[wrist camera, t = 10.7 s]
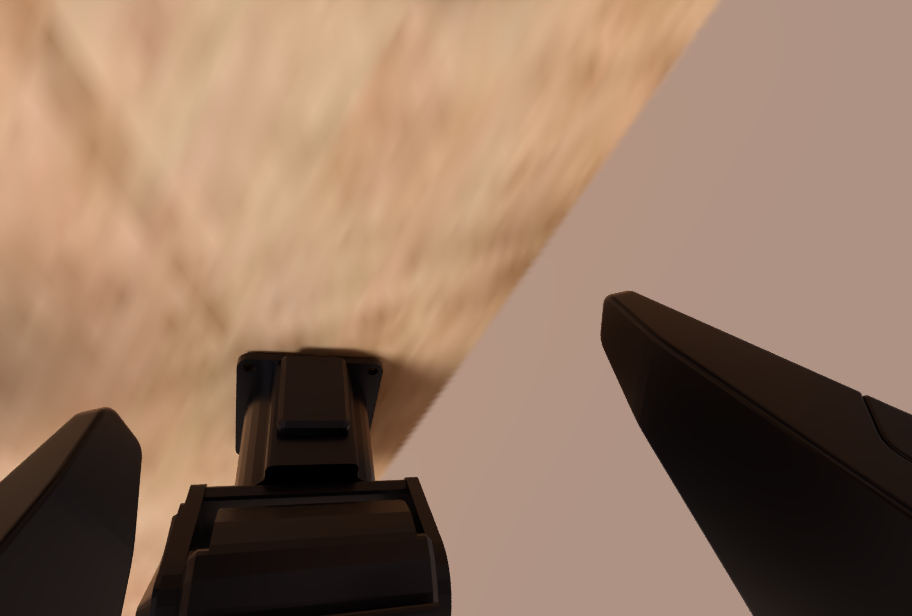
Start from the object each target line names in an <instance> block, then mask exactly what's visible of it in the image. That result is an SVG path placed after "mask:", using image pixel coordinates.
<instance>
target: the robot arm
mask: <svg viewBox="0 0 912 616" xmlns="http://www.w3.org/2000/svg"><path fill="white" fill-rule="evenodd" d="M601 342H602V346H603V348H604V351H605V353H606V355H607V357H608V360H609V361H610V364H611V366H612V368H613V370H614V373H615V375H616V377H617V379H618V381H619V384H620V386H621V388H622V390H623V393H624V395H625V397H626V399H627V401H628V404H629V406H630V408H631V410H632V412H633V414H634V416H635V418H636V421H637V423H638V425H639V426H640V428H641V430H642V432H643V433H644V435H645V437H646V439H647V440H648V442H649V444H650V445H651V447H652V449H653V450H654V452H655V454H656V455H657V457H658V459H659V460H660V462H661V464H662V465H663V467H664V469H665V470H666V472H667V474H668V475H669V477H670V479H671V480H672V482H673V484H674V485H675V487H676V489H677V490H678V492H679V493H680V495H681V497H682V499H683V500H684V502H685V503H686V505H687V507H688V508H689V510H690V512H691V514H692V515H693V517H694V518H695V520H696V521H697V523H698V525H699V527H700V528H701V530H702V532H703V533H704V535H705V537H706V538H707V540H708V542H709V543H710V545H711V547H712V548H713V550H714V552H715V553H716V555H717V557H718V558H719V560H720V562H721V563H722V565H723V567H724V568H725V570H726V572H727V573H728V575H729V577H730V578H731V580H732V581H733V583H734V585H735V587H736V588H737V590H738V592H739V593H740V595H741V597H742V598H743V600H744V602H745V603H746V605H747V607H748V608H749V610H750V612H751V613H752V615H753V616H912V415H911V414H909V413H907V412H904V411H902V410H900V409H897V408H895V407H893V406H890V405H888V404H886V403H884V402H882V401H879V400H877V399H875V398H872V397H870V396H868V395H866V396H862V394H861V393H860V392H858V391H856V390H854V389H852V388H850V387H847V386H845V385H843V384H841V383H838V382H836V381H834V380H832V379H829V378H827V377H825V376H823V375H820V374H818V373H816V372H814V371H811V370H809V369H807V368H804V367H802V366H800V365H798V364H796V363H793V362H791V361H789V360H787V359H784V358H782V357H780V356H778V355H775V354H773V353H771V352H769V351H766V350H764V349H761V348H760V347H757V346H755V345H753V344H751V343H748V342H746V341H744V340H741V339H739V338H737V337H735V336H732V335H730V334H728V333H725V332H723V331H721V330H719V329H717V328H714V327H712V326H710V325H708V324H705V323H703V322H701V321H699V320H696V319H694V318H692V317H690V316H687V315H685V314H683V313H681V312H678V311H676V310H674V309H672V308H669V307H667V306H665V305H663V304H660V303H658V302H656V301H654V300H651V299H649V298H647V297H645V296H642V295H640V294H638V293H636V292H633V291H624V292H619V293H615V294H610V295H608V296H607V297H606V298H605V300H604V304H603V313H602V323H601ZM247 363H250V364H253V366H247V365H245V364H247ZM369 368H375V369H374V370H369ZM382 373H383V368H382V363H381V361H380V360H378V359H375V358H358V357H333V356H308V355H283V354H258V353H247V354H243V355H241V356H240V357H239V359H238V363H237V384H236V453H238V454H239V460H238V467H237V474H236V481H235V486H215V487H207V484H200V485H191V486H190V489H189V492H188V495H187V499H186V502H185V503H181V504H180V507H179V510H178V513H177V514H176V515H175V516H173V517H172V521H171V526H170V530H169V534H168V538H167V542H166V546H165V550H164V553H163V557H162V559H161V562H160V564H159V566H158V568H157V570H156V572H155V574H154V576H153V578H152V580H151V582H150V584H149V586H148V588H147V590H146V592H145V594H144V596H143V598H142V600H141V602H140V604H139V606H138V608H137V611H136V616H451V581H450V573H449V565H448V561H447V556H446V551H445V548H444V545H443V542H442V539H441V536H440V534H439V531H438V529H437V526H436V523H435V521H434V518H433V516H432V513H431V510H430V508H429V506H428V503H427V500H426V497H425V495H424V492H423V490H422V487H421V484H420V482H419V479H418V477H409V478H407V477H406V478H404V480H387V481H375V475H374V466H373V457H372V448H371V439H370V428H371V423H372V419H373V414H374V410H375V405H376V400H377V396H378V391H379V387H380V382H381V378H382ZM141 462H142V452H141V447H140V444H139V442H138V440H137V439H136V437H135V436H134V435H133V433H132V432H131V431H130V429H129V428H128V427H127V425H126V424H125V423H124V421H123V420H122V419H121V418H120V416H119V415H118V414H117V412H116V411H115V410H113V409H111V408H108V407H103V408H98V409H94V410H89V411H85V412H81V413H78V414H77V415H75V416H74V417H72V418H71V419H70V420H69V421H68V422H67V423H66V424H65V425H64V426H62V427H61V428H60V429H59V430H58V431H57V432H56V433H55V434H53V435H52V436H51V437H50V438H49V439H48V440H47V441H46V442H45V443H43V444H42V445H41V446H40V447H39V448H38V449H37V450H36V451H34V452H33V453H32V454H31V455H30V456H29V457H28V458H27V459H26V460H24V461H23V462H22V463H21V464H20V465H19V466H18V467H17V468H15V469H14V470H13V471H12V472H11V473H10V474H9V475H8V476H7V477H5V478H4V479H3V480H2V481H1V482H0V616H121V613H122V608H123V604H124V599H125V594H126V589H127V584H128V579H129V574H130V569H131V563H132V557H133V551H134V542H135V533H136V521H137V509H138V497H139V485H140V473H141Z"/></svg>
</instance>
